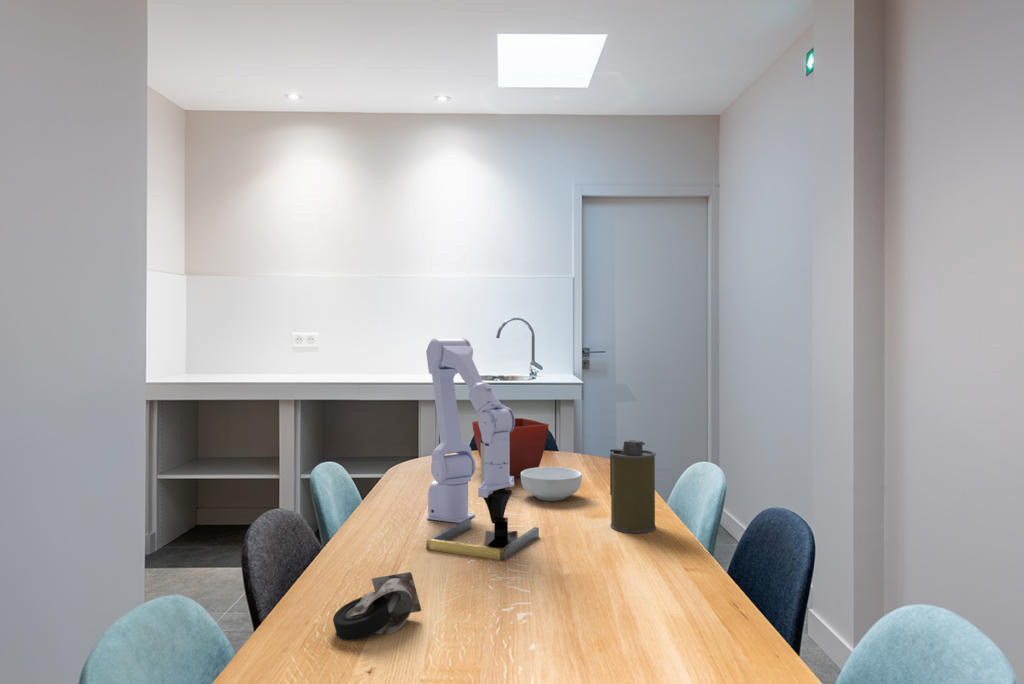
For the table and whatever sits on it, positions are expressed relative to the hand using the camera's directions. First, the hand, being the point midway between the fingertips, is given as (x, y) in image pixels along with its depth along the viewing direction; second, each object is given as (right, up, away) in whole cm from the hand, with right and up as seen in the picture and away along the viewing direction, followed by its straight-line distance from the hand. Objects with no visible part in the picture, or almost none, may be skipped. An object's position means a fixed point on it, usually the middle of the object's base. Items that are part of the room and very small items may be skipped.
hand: (496, 522), depth 152 cm
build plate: (+1, -3, -3) cm, 5 cm away
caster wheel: (-17, -3, -49) cm, 52 cm away
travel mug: (-2, -3, +51) cm, 51 cm away
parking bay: (-2, -3, -5) cm, 6 cm away
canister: (+31, -3, +6) cm, 32 cm away
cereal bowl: (+14, -3, +36) cm, 39 cm away
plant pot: (+3, -3, +69) cm, 69 cm away
